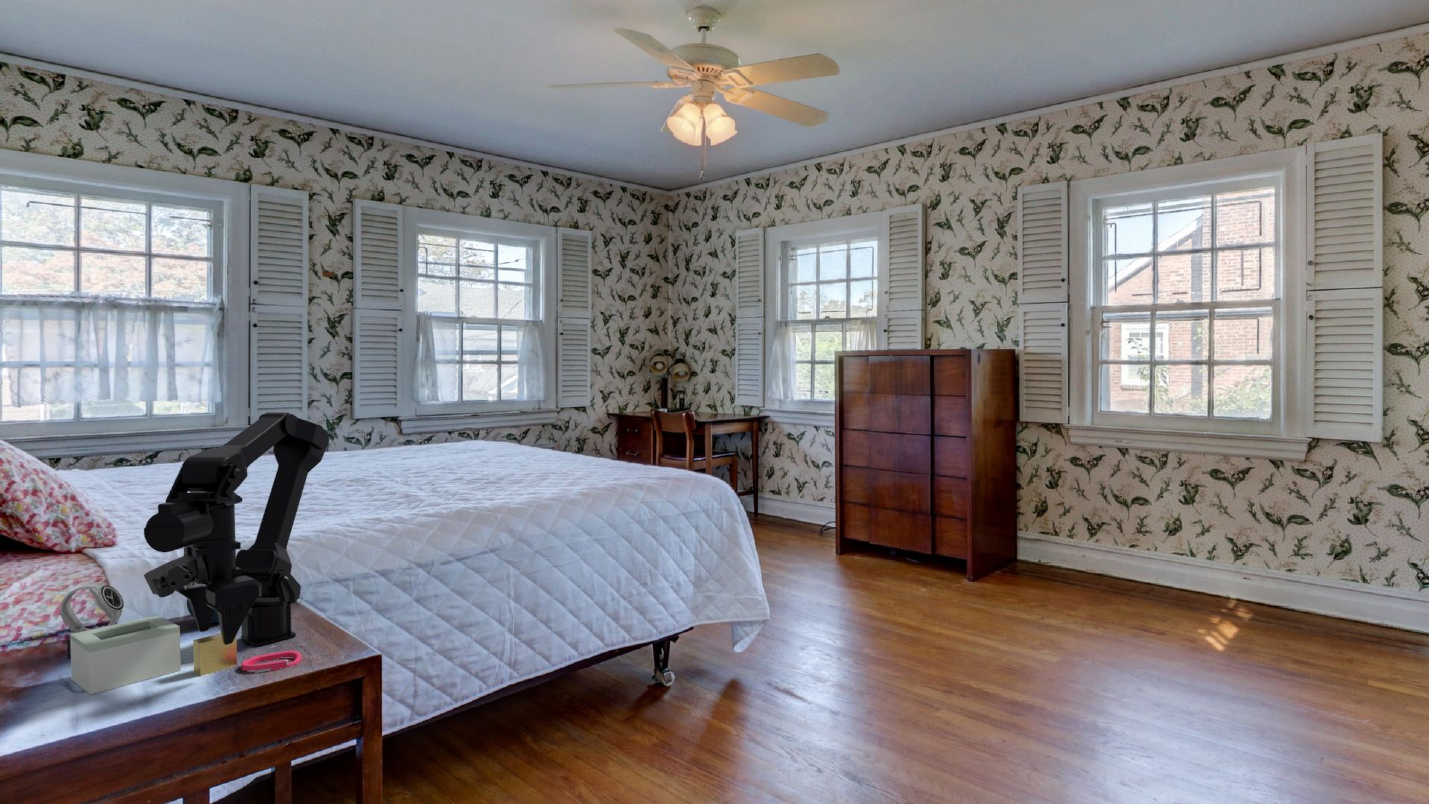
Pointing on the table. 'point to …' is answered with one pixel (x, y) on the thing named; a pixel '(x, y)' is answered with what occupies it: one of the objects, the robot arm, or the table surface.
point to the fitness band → (271, 666)
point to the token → (213, 654)
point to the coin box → (124, 653)
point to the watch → (104, 599)
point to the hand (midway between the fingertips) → (215, 637)
